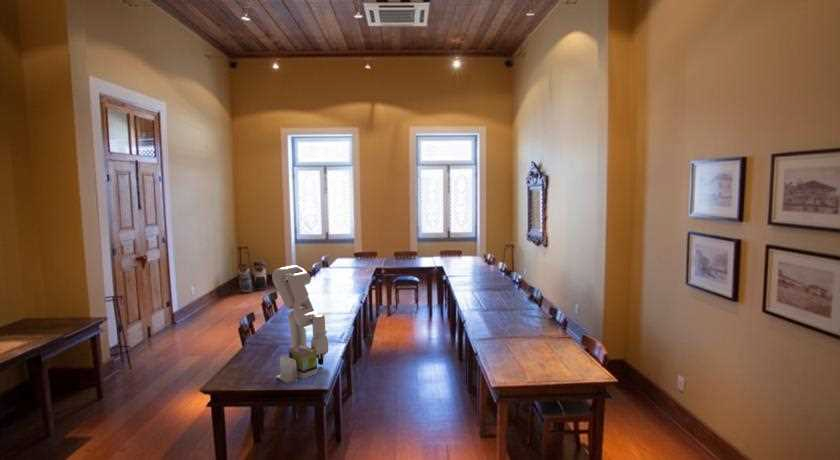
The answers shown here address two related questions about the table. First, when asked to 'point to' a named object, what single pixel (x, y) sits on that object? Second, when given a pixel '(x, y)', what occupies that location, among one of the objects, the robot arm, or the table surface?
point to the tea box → (304, 360)
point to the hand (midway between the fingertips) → (320, 364)
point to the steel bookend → (287, 370)
